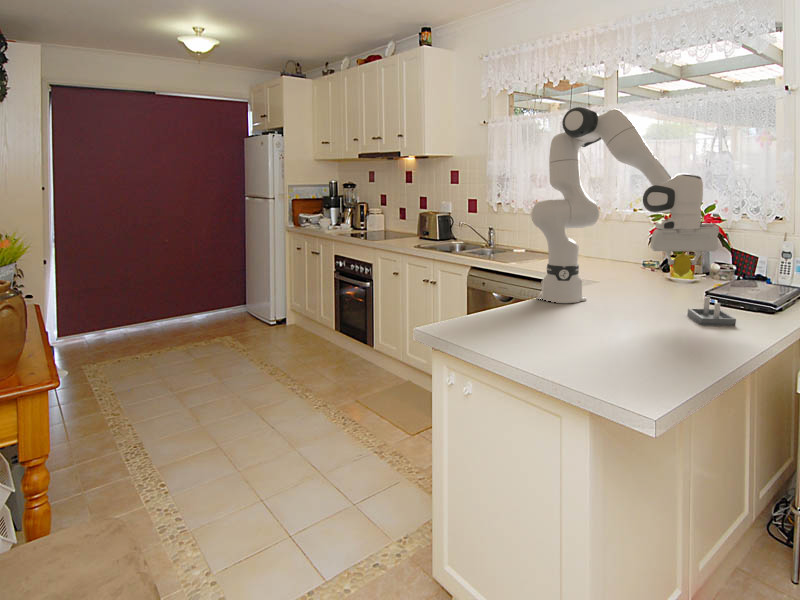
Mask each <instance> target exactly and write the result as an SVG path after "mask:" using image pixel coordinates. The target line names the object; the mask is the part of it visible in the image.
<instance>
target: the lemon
mask: <svg viewBox="0 0 800 600" xmlns="http://www.w3.org/2000/svg"><path fill="white" fill-rule="evenodd" d="M690 259H691V258H690V256H688V255H687V254H685V253H684V252H682V253H680V254H678V255H676V256H675V257H674V265H672V270H673V272H674V273H675V274H677V275H678V276H679V277H681V278H682V277H683V276H684V275H687V274H688V273H689V272H690V270H691V268H692V265H691V260H690Z"/></svg>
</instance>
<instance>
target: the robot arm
mask: <svg viewBox="0 0 800 600" xmlns="http://www.w3.org/2000/svg"><path fill="white" fill-rule="evenodd" d="M562 129H563V131H564V132H561V133H558V134H556V135H554V136H553V137H552V139H551V143H550V148H549V155H548V156H549V157H548V158H549V159H548V162H549V163H548V165H549V166H548V167H549V168H548V169H549V184H550V185H551V187H552V188H553V189H555V190H557V191H559V192H560V193H561V194H562V196H563V199H548V200H543V201H538V202H536V203H535V204H534V205H533V207H532V209H531V214H530V217H531V221H532V223H533V224H534V226H535V227H537V228H538V229H539V231H541V232H542V234H543V235H544V237H545V239H546V241H547V248H548V249H547V250H548V261H547V262H548V263H547V265H546V273H547V274H546V275H545V276H544V277H543V278H542V280H541V282H540V287H541V288H540V290H541V291H540V292H539V294H538V295H537V297H536V300H538V299H539V301H544V300H546V301H545V302H548V301H551V302H550V303H554V302H556V303H555V304H557V303H558V304H574V303H579V302H586V301H587V297H586V296H584V295H583V279H582V278H581V277H580V276H579V273H580V264H579V251H580V250H579V245H578V242H577V241H576V240H574V239H572V238H571V237H569V236H567V234H566V232H565V231H566V229H583V228H587V227H592V226H595V224H597V222H598V220H599V217H600V207H599V206H598V204H597V202H595V201H594V199H592V198H591V197H590V196H589V195H588V194H587V193H586V191H585V190H584V188H583V184H582V180H581V179H582V178H581V170H580V163H581V162H580V151H581V147H582V148H586V147H588V146H589V145H592V144H595V143H597V142H599V141H601V140H602V141H603V142H604V144H605V146H606V147H607V149H608V151H609V152H610V154H611V155H612V156H613V157H614V158H615V159H616V160H617V161H618V162H620V163H621V164H625V165H627V166H630V167H633V168H635V169H637V170H639V172H641V173H642V174H643V175H644V176H645V177H646V178H647V180H648V181H649V183H650V184H651V185H650V186H649V187H648V188H647V189H645V191H644V193H643V195H642V204H643V206H644V208H645V209H646V210H647V211H648V212H651V213H656V214H659V213H660V214H663V213H665V214H666V213H669V214H671V216H670V218H667V219H666V218H665V219H663V220H659V221H656V222H655V228H656V229H654V231H653V232H652V235H651V238H650V239H651V240H650V247H649V248H650V250H652V251H653V252H664V253H665V254H664V255H665V256H666V258H667V265H669V266H670V265H672V266H673V265H674V259H675V258H674V259H673V258H672V257H671V255H672V252H694V255H695V256H694V257H693V258H690V260H691V266H697V263H698V259H699V258H700V257H701V256H702V252H716V251H717V250H718V248H719V242H718V241H719V240H718V239H719V237H718V235H719V233H720V227H719V226H718V224H716V223H714V222H713V223H712V222H710V223H707V222H705V223H702V222H701V221H702V220H701V219H702V211H701V205H702V203H703V199H704V197H703V196H704V184H703V183H704V182H703V178H702V177H701V176H700V175H698V174H694V173H683V172H680V173H677V174H676V175H675V176H673V177H672V176H671V175H670V174H669V172H668V171H667V170H666V169H665V167H664V165H663V164H662V163H661V162H660V160H659V159H658V158H657V157H656V156H655V154H654V153H653V151H652V150H651V149H650V147H649V146H648V144H647V142H646V141H645V139H644V138H643V136H642V134H641V133H640V130H638V128H637V127H636V126H635V124H634V123H633V121H632V120H631V119H630V118H629V116H627V115H626V113H624V112H623V111H622V110H620V109H617V108H612V109H609V110H607V111H605V112H604V113H603V114H600V115H599V114H598V113H597V111H594V110H591V109H589V108H586V107H581V106H580V107H579V106H578V107H573V108H571V109H569V110H568V111H566V112H565V114H564V116H563V117H562ZM540 298H541V300H540ZM542 299H543V300H542Z"/></svg>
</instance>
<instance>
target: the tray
mask: <svg viewBox="0 0 800 600" xmlns="http://www.w3.org/2000/svg"><path fill="white" fill-rule="evenodd" d="M710 300H711V297H710V296H705V297H704V301H703V308H687V314H686V316H687V317H688V318H690V319H691V320H692V321H694V322H695V323H696V324H698V325H699V326H700V325H701V326H702V327H723V326H735V327H736V322H737V318H736V317H733V316H732V315H730V314H728V313H727V312H725V311H723V310H722V309H721V305H722V304H721V302H714V308H710V302H711V301H710ZM701 326H700V327H701Z"/></svg>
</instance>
